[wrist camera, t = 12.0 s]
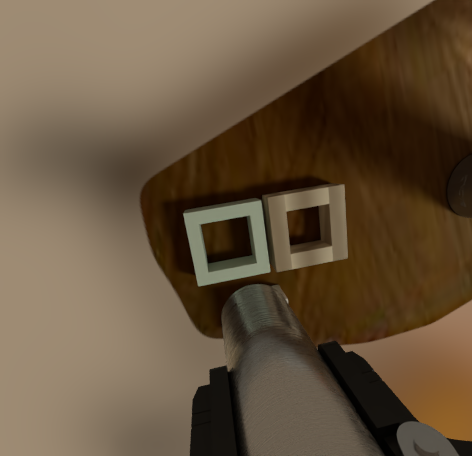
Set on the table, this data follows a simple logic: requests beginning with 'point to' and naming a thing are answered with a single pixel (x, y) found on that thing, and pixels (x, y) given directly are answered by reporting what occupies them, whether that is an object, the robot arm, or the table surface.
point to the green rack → (232, 267)
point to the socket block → (330, 226)
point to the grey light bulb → (285, 384)
